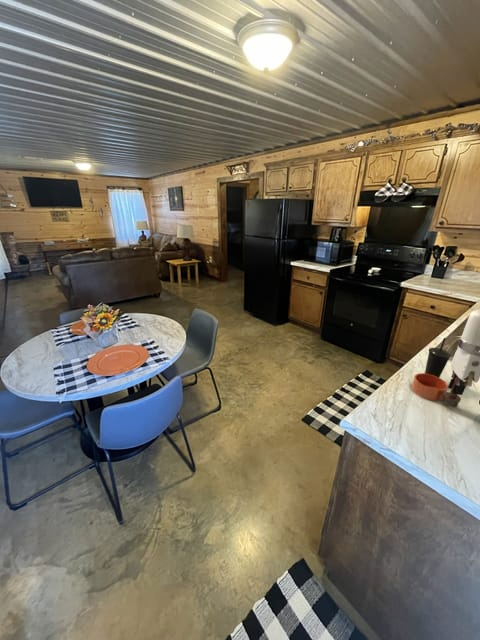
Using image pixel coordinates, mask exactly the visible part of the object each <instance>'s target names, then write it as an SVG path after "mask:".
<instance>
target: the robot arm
mask: <svg viewBox="0 0 480 640" xmlns="http://www.w3.org/2000/svg"><path fill="white" fill-rule="evenodd" d="M450 367H451V370H452V374H451V377H450V381H449V382H448V390H449V389H450V391H451V388H452V386H453V383H454V381H455V378H456V377H458V380H457V383H456V384H454V386H453V389H452V391H451V392H452V394H457V395H458V396H462V395H464V392H465V390H466V388H467V387H472V386H473V382H474V383H478V382H479V380H480V309H475V310H473V311H471V312H470V314H469V316H468V318H467V321H466V323H465V326H464V329H463V332H462V333H461V336H460V340H459V342H458V344H457V349H456V350H455V353H454V355H453V357H452V360H451V363H450ZM461 380H464V381H461Z"/></svg>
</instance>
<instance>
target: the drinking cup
mask: <svg viewBox="0 0 480 640" xmlns="http://www.w3.org/2000/svg"><path fill="white" fill-rule="evenodd" d="M446 339H447V338H446V337H443V339H442V342H441V345H440V347H430V348H429V349H428V355H427V360H426V365H425V370H424V373H425V374H430V375H434V376H436V377H439V378H440V377H441V375H442V373H443V371H444V369H445V368H446V366H447V364H448V362H449V360H450V359H451V357H452V353H451V352H449V351H448V350H446V349H444V345H445V342H446Z"/></svg>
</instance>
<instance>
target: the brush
mask: <svg viewBox="0 0 480 640" xmlns="http://www.w3.org/2000/svg"><path fill="white" fill-rule="evenodd" d="M457 380H458V377H456V378H455V381H454V383H453V386H454V384H456V383H457ZM461 381H465V380H461ZM453 386H452V388H451V389H450V391H447V392H446V393H445V394H444V398H443V399H442V403H443V404H444V405H446V406H447V407H450V408H457V407H458V405H459V403H460V402H461V400H462V398H461V396H460V395H457V394H452V392H451V391H452V389H453Z"/></svg>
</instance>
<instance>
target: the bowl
mask: <svg viewBox="0 0 480 640" xmlns="http://www.w3.org/2000/svg"><path fill="white" fill-rule="evenodd" d="M448 386H449V383H447V382H446V381H445V380H444V379H443V378H440V377H436V376H434V375H430V374H425V372H423V373H421V372H420V373H416V374H415V375H414V378H413V380H412V384H411V390H412V391H413V392H414V393H415V394H416V395H418V396H419V397H421V398H423V399H426V400H430V401H434V402H435V401H437V402H438V401H443V398H444V394H445V393H446V392H448V390H449V388H448Z"/></svg>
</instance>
